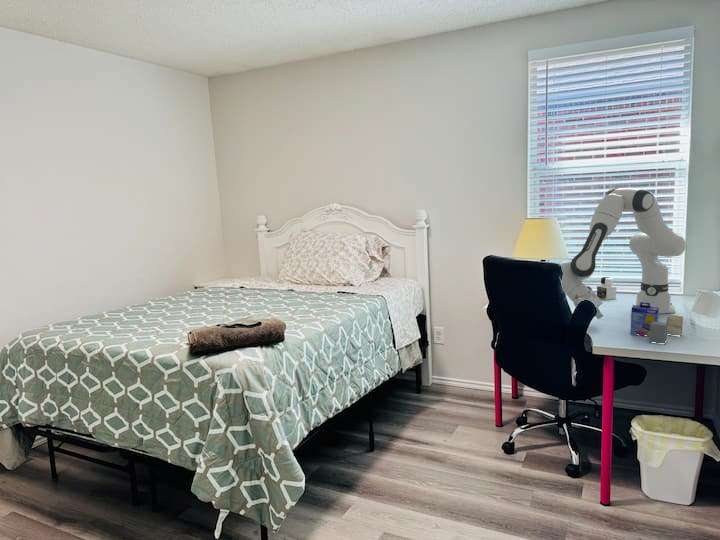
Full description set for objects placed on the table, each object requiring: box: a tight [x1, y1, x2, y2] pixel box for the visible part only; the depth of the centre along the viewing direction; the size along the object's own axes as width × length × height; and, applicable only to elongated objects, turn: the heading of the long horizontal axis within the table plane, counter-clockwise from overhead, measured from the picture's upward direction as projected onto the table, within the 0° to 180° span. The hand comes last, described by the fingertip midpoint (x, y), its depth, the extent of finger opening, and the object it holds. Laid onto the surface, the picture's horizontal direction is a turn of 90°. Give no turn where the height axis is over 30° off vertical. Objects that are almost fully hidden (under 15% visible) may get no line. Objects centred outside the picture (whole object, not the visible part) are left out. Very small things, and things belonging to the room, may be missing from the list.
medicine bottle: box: [596, 276, 617, 301], centre depth 282 cm, size 7×7×12 cm
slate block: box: [649, 321, 668, 344], centre depth 201 cm, size 5×5×8 cm
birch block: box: [666, 314, 684, 336], centre depth 210 cm, size 5×5×8 cm
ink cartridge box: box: [629, 302, 659, 336], centre depth 211 cm, size 10×6×14 cm, turn 55°
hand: (601, 317), depth 224 cm, fingers closed
